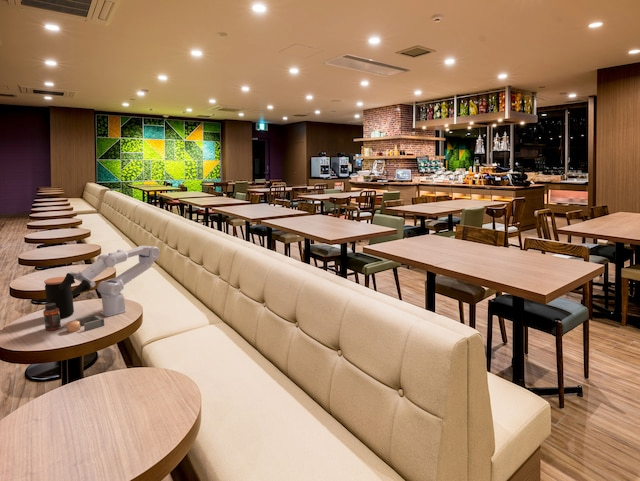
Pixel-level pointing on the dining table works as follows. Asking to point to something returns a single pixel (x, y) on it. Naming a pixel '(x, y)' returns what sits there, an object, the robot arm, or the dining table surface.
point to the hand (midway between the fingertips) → (66, 291)
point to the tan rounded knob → (73, 326)
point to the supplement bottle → (51, 317)
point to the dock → (91, 322)
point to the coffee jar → (59, 296)
